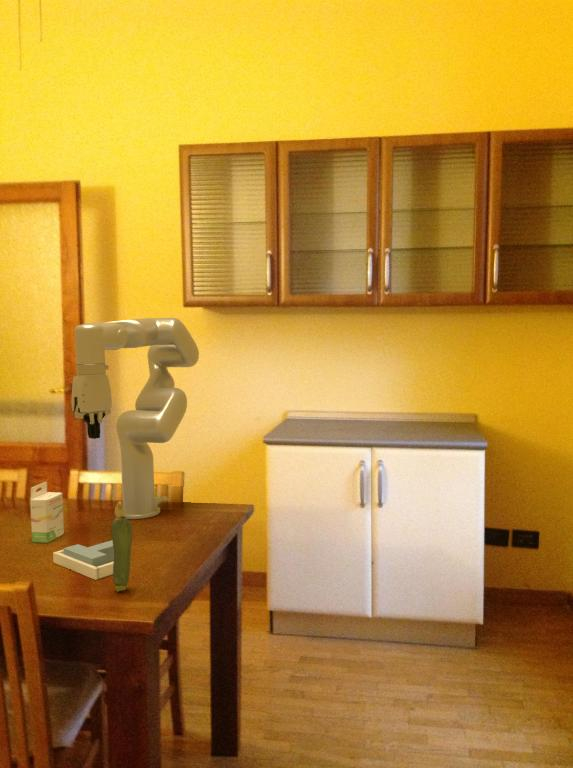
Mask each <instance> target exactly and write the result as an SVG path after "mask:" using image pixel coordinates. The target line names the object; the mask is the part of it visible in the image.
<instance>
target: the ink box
mask: <svg viewBox="0 0 573 768" xmlns="http://www.w3.org/2000/svg"><path fill="white" fill-rule="evenodd" d="M38 489H40V490H38ZM37 490H38V491H37ZM29 505H30V523H31V542H32V543H44V544H45V543H46V544H48V543H50V542H52V541H53V540H54V541H55V540H56V539H57V538H59V537H61V536H62V535H65V533H64V531H65V530H64V529H65V528H64V526H65V525H64V508H63V507H64V503H63V492H57V491H56V492H54V491H53V492H52V491H48V482H47V481H44V482H42V483H39V484H37V485H35V486H32V487H30V503H29Z"/></svg>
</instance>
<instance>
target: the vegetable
mask: <svg viewBox="0 0 573 768" xmlns="http://www.w3.org/2000/svg"><path fill="white" fill-rule="evenodd" d="M114 516H115V518H114V519H113V521H112V523H111V527H110V535H111V540H112V541H113V547H114V563H113V574H112V576H113V577H112V578H113V583H114V586H115V590H116V592H117V593H118V592H124V591H126V590H127V585H128V584H129V580H130V569H131V549H132V545H133V543H132V542H133V529H132V528H133V527H132V524H131V520H130V519H127V518H126V517H124V510H123V500H122V501H121V500H120V501H118V502H117V504H116V506H115V509H114Z"/></svg>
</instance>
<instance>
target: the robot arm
mask: <svg viewBox="0 0 573 768" xmlns="http://www.w3.org/2000/svg"><path fill="white" fill-rule="evenodd" d="M74 328H75V329H74V343H75V344H74V345H75V364H76V366H75V367H76V376H73V380H72V387H71V411H72V412H73V413H74V418H75V419H79V420H81V419H82V421H83V422H84V423H85V424H86V427H87V429H86V430H87V432H86V433H87V437H88V439H93V440H94V439H100V438H101V424H102V423H103V419H104V418H105V417H106V416H109V415H111V413H112V411H111V409H112V406H113V405H112V404H113V399H112V390H111V389H112V388H111V382H110V379H109V376H108V374H106V373H107V370H109V368H110V367H109V365H108V364H106V351H118V350H120V349H137V348H142V347H144V348H145V347H148V351H147V363H148V370H149V377H148V379H147V381H146V383H145V385H144V386H143V388H142V389H141V390H140V392H139V394H138V396H137V398H136V400H135V405H134V408H135V409H130V410H127V411H124V412H122V413H121V414H119V415H118V417H117V419H116V426H115V427H116V428H115V429H116V433H117V437H118V441H119V446H120V447H119V448H120V462H121V463H120V467H121V488H122V489H121V492H122V494H121V495H122V505H123V510H124V517H126V518H127V519H128V520H141V519H142V520H143V519H146V518H147V519H149V518H153V517H155V516H158V515H159V514H160V513H161V508H160V506H159V505H161V504H163V503H167V502H168V496H167V495H164V496H160V497H159V496H156V495H155V468H154V467H155V466H154V454H153V451H152V449H151V447H150V445H149V443H151V444H153V443H154V444H164V443H167V442H169V441H170V440H172V438H173V436H174V435H175V433H176V431H177V430H178V427H179V425H180V424H181V422H182V420H183V418H184V416H185V414H186V412H187V409H188V398H187V394H186V393H185V392H184V390H182V389H181V388H179V387H175V385H176V384H175V383H176V382H175V380H174V377H173V375H172V374H171V373H170V372H169V370H168V368H192V367H194V366H195V365H196V364H197V363H198V362H199V359H200V357H199V356H200V352H199V347H198V345H197V343H196V341H195V340H194V338H193V336H192V334H191V333H190V331H189V330H188V328H187V327H186V325H185V324H184V323H183V321H181V320H180V319H178V318H176V317H151V318H150V317H148V318H147V317H145V318H133V319H132V318H131V319H121V320H114V321H113V320H112V321H104V322H103V321H102V322H89V323H88V322H87V323H83V324H78V325H77V326H76V327H74Z"/></svg>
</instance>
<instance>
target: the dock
mask: <svg viewBox="0 0 573 768" xmlns="http://www.w3.org/2000/svg"><path fill="white" fill-rule="evenodd" d="M52 556H53V559H52V560H53V563H54V564H55V565H56V564H57V565H59V566H61V567H63V568H66V569H68V570H70V569H71V571H73V572H75V573H78V574H81V575H83V576H85V577H87V578H91V579H92V580H95V581H97V580H99V579H102V578H106V577H109V576H113V563H114V562H111V563H107V564H104V565H101V566H98V567H95V566H93V565H90V564H88V563H85V562H82V561H80V560H77V559H75V558H72V557H70V556H67V555H65V554H64V549H62V550H61V549H60V550H58V551H53V552H52Z"/></svg>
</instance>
